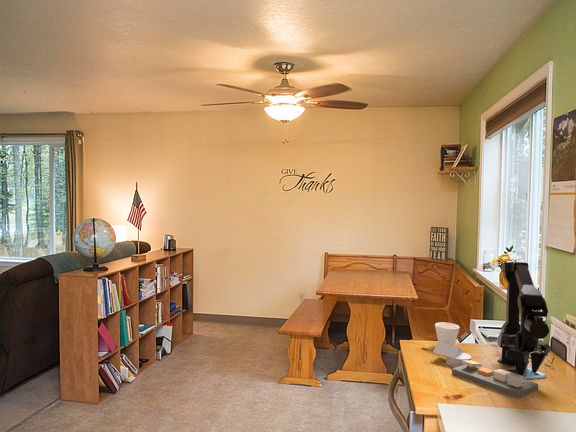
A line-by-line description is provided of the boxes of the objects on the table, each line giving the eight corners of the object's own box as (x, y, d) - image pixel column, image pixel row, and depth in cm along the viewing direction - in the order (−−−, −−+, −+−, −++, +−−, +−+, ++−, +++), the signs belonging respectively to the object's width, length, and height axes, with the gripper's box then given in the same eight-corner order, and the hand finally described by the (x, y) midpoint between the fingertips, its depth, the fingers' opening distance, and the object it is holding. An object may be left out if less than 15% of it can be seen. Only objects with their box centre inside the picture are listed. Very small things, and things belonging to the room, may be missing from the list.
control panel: (472, 367, 173) (473, 359, 173) (538, 389, 153) (538, 381, 153) (451, 374, 165) (452, 366, 165) (518, 398, 146) (518, 390, 146)
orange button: (483, 373, 164) (483, 367, 164) (493, 377, 161) (494, 370, 161) (477, 376, 162) (477, 369, 162) (487, 380, 159) (488, 372, 159)
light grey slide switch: (511, 381, 153) (512, 372, 153) (522, 385, 151) (522, 375, 150) (507, 383, 152) (507, 374, 152) (517, 387, 149) (518, 377, 149)
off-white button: (499, 375, 160) (499, 368, 159) (510, 379, 156) (511, 372, 156) (493, 378, 157) (493, 370, 157) (504, 382, 154) (504, 374, 154)
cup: (455, 352, 189) (456, 330, 189) (431, 347, 194) (432, 325, 194) (460, 346, 198) (461, 324, 197) (437, 341, 203) (438, 320, 203)
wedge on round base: (432, 361, 178) (466, 370, 170) (433, 344, 178) (466, 352, 169) (441, 355, 185) (474, 363, 176) (442, 339, 185) (475, 346, 176)
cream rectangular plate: (471, 363, 169) (471, 360, 169) (481, 366, 166) (481, 363, 166) (461, 363, 166) (462, 360, 166) (471, 366, 163) (472, 363, 163)
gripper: (520, 320, 167) (517, 363, 168) (491, 328, 156) (489, 373, 157) (552, 328, 158) (549, 373, 159) (524, 336, 147) (522, 384, 148)
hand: (527, 375), depth 156 cm, fingers open, 9 cm apart
